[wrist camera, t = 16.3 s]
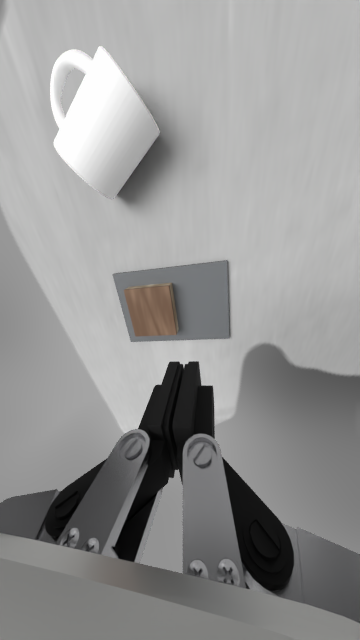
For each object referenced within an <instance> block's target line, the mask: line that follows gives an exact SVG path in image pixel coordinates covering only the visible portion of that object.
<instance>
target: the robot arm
mask: <svg viewBox="0 0 360 640" xmlns="http://www.w3.org/2000/svg"><path fill="white" fill-rule="evenodd" d="M178 469H179V472H180V476H181V481H182V485H183V574H182V573H178V572H173V571H169V570H165V569H160V568H156V567H152V566H148V565H143V564H140V561H141V558H142V555H143V551H144V548H145V545H146V542H147V539H148V536H149V532H150V529H151V526H152V523H153V520H154V516H155V513H156V510H157V507H158V504H159V501H160V497H161V495H162V489H163V487H164V486H165V485H166V484H167V483H168V479H169V477H171V478H173V477H174V472H175V470H178ZM0 640H360V554H358V553H356V552H353V551H351V550H349V549H347V548H344V547H342V546H340V545H338V544H335V543H333V542H330V541H328V540H326V539H324V538H322V537H319V536H317V535H315V534H312V533H310V532H308V531H306V530H303V529H301V528H299V527H297V529H294V528H292V527H290V526H288V525H285V524H283V523H281V522H280V521H279V519H278V518H277V517H276V516H275V515H274V514H273V513H272V511H271V510H270V509H269V508H268V507H267V506H266V505H265V504H264V503H263V501H261V499H260V498H259V497H258V496H257V495H256V494H255V493H254V491H253V490H252V489H251V488H250V487H249V486H248V485H247V484H246V483H245V482H244V481H243V480H242V478H241V477H240V476H239V475H238V474H237V473H236V472H235V471H234V470H233V468H232V467H231V466H230V465H229V464H228V463H227V462H226V461H225V460H224V459H223V457H222V455H221V450H220V447H219V444H218V443H217V442H216V440H215V437H214V396H213V386H201V378H200V369H199V362H189V363H188V364H185V367H183V364H180V362H169V365H168V367H167V370H166V373H165V376H164V379H163V382H162V385H156V386H155V387H154V389H153V392H152V395H151V397H150V400H149V402H148V405H147V407H146V410H145V412H144V415H143V418H142V420H141V423H140V425H139V428H138V429H135V430H131V431H129V432H127V433H125V434H124V435H123V436H122V437H121V438H120V439H119V441H118V442H117V443H116V445H115V447H114V448H113V450H112V452H111V453H110V455H109V456H108V458H107V459H106V460H104V461H103V462H101V463H100V464H98V465H97V466H96V467H94V468H93V469H91V470H90V471H88V472H87V473H86V474H84V475H83V476H81V477H80V478H78V479H77V480H76V481H75V482H73V483H71V484H70V485H68V486H67V487H66V488H65V489H63V490H62V491H58V490H57V489H56V490H50V491H44V492H38V493H33V494H27V495H21V496H15V497H11V498H8V499H6V500H4V501H3V502H1V503H0Z"/></svg>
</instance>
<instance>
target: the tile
mask: <svg viewBox="0 0 360 640" xmlns="http://www.w3.org/2000/svg"><path fill="white" fill-rule="evenodd" d="M124 294H125V298H126V302H127V306H128V309H129V313H130V317H131V321H132V325H133V329H134V333H135V336H162V335H177V332H178V330H179V328H178V321H177V314H176V307H175V300H174V294H173V287H172V283H163V284H153V285H143V286H132V287H128V288H126V289H125V290H124Z"/></svg>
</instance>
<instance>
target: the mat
mask: <svg viewBox="0 0 360 640" xmlns="http://www.w3.org/2000/svg"><path fill="white" fill-rule="evenodd" d="M113 277H114V281H115V285H116V289H117V292H118V296H119V300H120V303H121V307H122V311H123V314H124V318H125V322H126V325H127V329H128V333H129V336H130V340H131V342H137V341H167V340H196V339H225V338H229V307H228V272H227V260H226V261H218V262H209V263H201V264H192V265H184V266H175V267H167V268H158V269H150V270H141V271H133V272H124V273H116V274H113ZM163 283H172V287H173V294H174V300H175V307H176V314H177V321H178V328H179V330H178V332H177V335H162V336H135V333H134V329H133V325H132V321H131V317H130V313H129V309H128V306H127V302H126V298H125V294H124V290H125V289H126V288H128V287H132V286H143V285H153V284H163Z"/></svg>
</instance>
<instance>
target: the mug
mask: <svg viewBox="0 0 360 640" xmlns="http://www.w3.org/2000/svg"><path fill="white" fill-rule="evenodd" d="M73 69H78V70H80V71H82V72H83V73H84V74H86V75H85V77H84V79H83V81H82V83H81V85H80V87H79V90H78V92H77V94H76V96H75V98H74V100H73V102H72V104H71V106H70V108H69V111H68V113H67V115H66V116H65V114H64V111H63V108H62V103H61V99H62V92H63V88H64V85H65V82H66V80H67V77H68V75H69V73H70V72H71V71H72V70H73ZM50 97H51V106H52V111H53V115H54V118H55V120H56V123H57V125H58V127H59V132H58V134H57V136H56V138H55V140H54V147H55V149H56V151H57V152H58V153H59V155H60V156H61V157H62V159H63V160H64V161H65V162H66V163H67V164H68V165H69V167H70V168H71V169H72V170H73V171H74V172H75V173H76V174H77V175H78V176H80V177H81V178H82V179H83V180H84V181H85V182H86V183H87V184H89V185H90V186H91V187H92V188H94V189H95V190H96V191H98V192H99V193H100V194H102V195H104V196H105V197H107V198H110V199H114V198H115V197H116V195H117V194H118V193H119V191H120V190H121V188H122V187H123V185H124V184H125V183H126V181H127V180H128V178H129V177H130V175H131V174H132V173H133V171H134V170H135V168H136V167H137V165H138V164H139V163H140V161H141V160H142V158H143V157H144V155H145V154H146V153H147V151H148V150H149V148H150V147H151V146H152V144H153V143H154V141H155V140H156V138H157V137H158V136H159V134H160V131H159V128H158V126H157V124H156V122H155V120H154V118H153V117H152V115H151V113H150V112H149V110H148V108H147V107H146V105H145V104H144V102H143V100H142V99H141V97H140V96H139V94H138V93H137V91H136V90H135V88H134V87H133V85H132V84H131V82H130V81H129V80H128V78H127V77H126V75H125V74H124V72H123V71H122V70H121V68H120V67H119V66H118V64H117V63H116V61H115V60H114V59H113V58H112V56H111V55H110V54H109V53H108V51H107V50H106V49H105V48H104V47H102V46H99V48H98V50H97V52H96V54H95V56H94V58H93V59H92V58H91V57H90V56H89V55H87V54H86V53H84V52H82V51H80V50H75V49H73V50H68V51H66V52H64V53H63V54H62V55H61V56H60V57H59V58H58V59H57V61H56V63H55V65H54V67H53V70H52V75H51V82H50Z"/></svg>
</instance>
